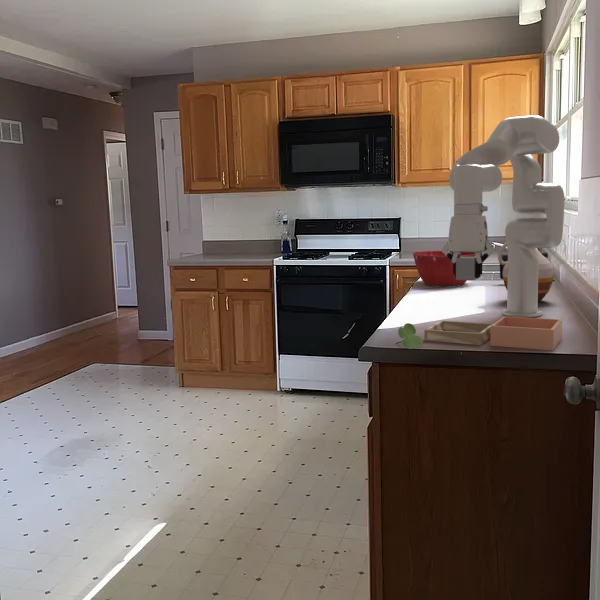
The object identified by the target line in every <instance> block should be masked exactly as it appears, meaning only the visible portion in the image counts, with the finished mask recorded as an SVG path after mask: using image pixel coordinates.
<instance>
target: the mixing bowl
mask: <svg viewBox="0 0 600 600" xmlns="http://www.w3.org/2000/svg"><path fill="white" fill-rule="evenodd" d="M449 251H450V250H449ZM450 252H451V251H450ZM451 253H452V254H454V252H451ZM411 255H413V259H414V260H413V261H414V265H415V267H416V270H417V272H418V274H419V276H420V278H421V281H422V282H423V283H424V284H425V285H426V286H428V285H429V286H428V287H435V286H455V287H459V286H458V285H461V286H463V285H464V284H466V283H467V281H468V280H456V278H455V274H453V263H452V261H451V260H450V259H449V258H448V257H447V256H446V255H445V254H444V253H443V252H442V251H441V250H423V251H421V250H420V251H414V252H412V254H411ZM460 257H476V256H475V253H461V254H460Z"/></svg>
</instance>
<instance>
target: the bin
mask: <svg viewBox="0 0 600 600" xmlns="http://www.w3.org/2000/svg"><path fill="white" fill-rule="evenodd" d="M492 324H493V325H491V336H490V338H489V339H490V343H489V345H490V346H491V347H492V346H493V347H502V348H503V347H505V348H515V349H528V350H529V349H530V350H539V351H540V350H543V351H554V350H555V348H556V347H557V346H558V344H559V343H560V342H561V341H562V339H563V319H558V318H540V317H511V316H506V315H504V316H501V318H500V319H498V320H496V322H494V323H492Z"/></svg>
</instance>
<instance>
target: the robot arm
mask: <svg viewBox="0 0 600 600" xmlns="http://www.w3.org/2000/svg"><path fill="white" fill-rule="evenodd" d="M559 144H560V134H559V131H558V128H557V127H556V126H555V125H554V123H551V122H550V121H549V120H548V119H546V118H544V117H543V116H540V115H535V114H534V115H524V116H514V117H513V116H512V117H508V118H505V119H503V120H501V121H500V122H499V123H498V124H497V126H495V128H494V130H493V131H492V133H491V134H490V135H489V137H488V139H487V140H486V142H484V143H482V144H480V145H478V146H476V147H474V148H472V149H471V150H469V151H467V152H466V153H464V154H462V155H461V156H460V157H459V158H458V159H457V161H456V162H455V163H454V165H453V167H452V169H451V171H450V174H449V177H448V183H449V186H450V187H449V188H451V190H452V191H453V215H452V216H451V219H450V222H449V228H448V230H449V231H448V241H446V243H445V245H443V247H442V248H441V249H440V251H442V252H443V253H444V254H445V255H446V256H447V257H448V258H449V259H450V260H451V261H452V263H453V274H455V278H456V258H458V257H460V254H461V253H475V256H476V260H477V263H476V264H475V278H479V279H480V278H481V276H482V275H483V264H484V262H485V261H486V260H487V259H488V258H489V257H490V256H491V255H493V254H494V253H496V249H495V248H494V246H493V245H492V244H491V243H490V241H489V234H488V233H489V231H488V223H487V217H486V215H483V214H484V212H485V213H486V212H488V209H489V207H488V206H487V205H484V203H483V193H486V192H492V191H495V190H498V188H499V187H500V186H501V185H502V181H503V173H502V171H501V169H500V166H502V165H505V164H506V163H508V162H510V164H511V166H512V172H513V177H512V178H513V180H512V190H511V191H512V193H511V206H512V210H513V211H514V212H515V213H517V214H524V215H525V214H526V215H527V214H528V215H532V214H533V215H537V214H538V215H539V214H541V215H542V214H543V215H545V216H546V217H518V218H513V219H511V220H510V221H509V222H508V223H507V224H506V225H505V229H504V235H505V243H506V242H507V247H506V249H507V253H508V283H507V290H506V291H507V293H506V298H507V299H506V300H507V301H506V308H505V309H502V310H501V314H502V315H504V316H507V317H525V318H538V317H542V315H543V311H542V310H540V309H538V305H539V304H538V266H539V264H538V259H537V257H536V255H535V254H534V252H533V251H532V249H531V248H536V249H554V248H558V246H560V244H561V242H562V240H563V234H564V233H563V232H564V219H565V217H564V216H565V204H566V203H565V193H564V188H563V187H562V186H561V185H560V184H558V183H554V182H548V183H547V182H546V183H542V167H541V165H540V163H539V161H538V160H537V159H536V158H535V156H533V155H542V154H551V153H553V152H555V150H557V148H559V147H558V146H559ZM450 251H451V252H454V254H452V253H451V252H450ZM483 252H484V253H483Z"/></svg>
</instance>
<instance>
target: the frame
mask: <svg viewBox="0 0 600 600" xmlns="http://www.w3.org/2000/svg"><path fill="white" fill-rule="evenodd" d="M493 324H494V323H489V322H488V323H487V322H472V321H457V320H455V321H454V320H453V321H452V320H440V321H438V322H436V323H434V324H433V325H431V326H429V327H427V328H426V329H424V341H427V342H428V341H431V342H441V343H443V342H444V343H455V344H466V345H477V346H478V345H479V346H482V345H484V343H486V342H487V341H488V340H489V339H490V336H491V325H493ZM444 330H445V331H444Z"/></svg>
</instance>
